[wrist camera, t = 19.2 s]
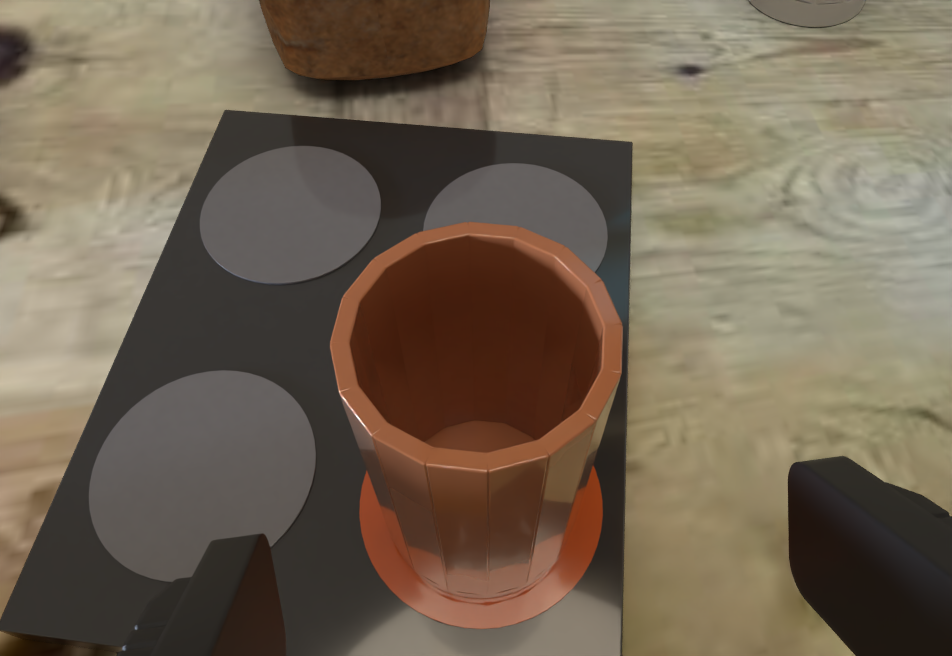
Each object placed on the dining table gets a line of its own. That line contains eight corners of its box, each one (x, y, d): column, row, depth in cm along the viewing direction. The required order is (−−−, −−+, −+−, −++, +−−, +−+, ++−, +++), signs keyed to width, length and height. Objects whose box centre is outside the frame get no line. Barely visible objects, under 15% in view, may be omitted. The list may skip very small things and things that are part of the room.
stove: (627, 166, 33) (633, 139, 32) (613, 721, 22) (621, 715, 20) (234, 134, 35) (223, 107, 33) (21, 639, 23) (-8, 629, 22)
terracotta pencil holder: (578, 428, 25) (625, 234, 16) (567, 611, 22) (619, 487, 13) (405, 409, 25) (364, 211, 17) (371, 585, 22) (299, 451, 14)
